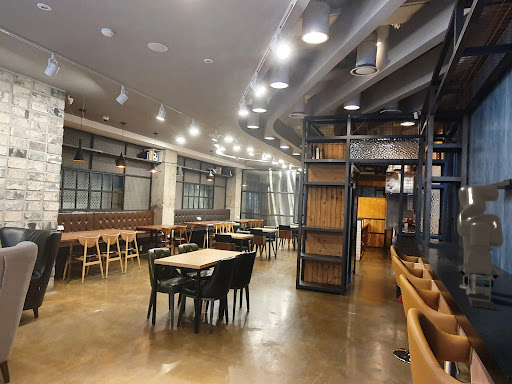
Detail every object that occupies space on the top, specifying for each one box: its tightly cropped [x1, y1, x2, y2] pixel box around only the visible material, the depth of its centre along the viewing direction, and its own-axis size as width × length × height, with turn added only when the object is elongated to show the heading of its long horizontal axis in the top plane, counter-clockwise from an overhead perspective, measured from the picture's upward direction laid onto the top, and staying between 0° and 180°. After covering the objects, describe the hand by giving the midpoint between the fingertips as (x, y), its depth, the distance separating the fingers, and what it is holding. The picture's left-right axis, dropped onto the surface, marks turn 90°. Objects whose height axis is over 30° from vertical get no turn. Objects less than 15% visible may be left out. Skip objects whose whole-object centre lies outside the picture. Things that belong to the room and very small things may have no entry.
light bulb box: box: [466, 273, 492, 302], centre depth 163 cm, size 11×7×11 cm, turn 168°
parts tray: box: [468, 293, 495, 310], centre depth 150 cm, size 15×8×3 cm, turn 153°
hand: (478, 286), depth 163 cm, fingers open, 8 cm apart
